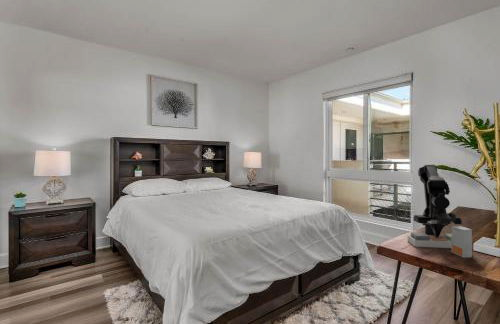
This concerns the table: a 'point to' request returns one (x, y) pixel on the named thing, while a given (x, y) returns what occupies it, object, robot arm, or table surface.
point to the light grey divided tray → (429, 243)
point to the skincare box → (461, 241)
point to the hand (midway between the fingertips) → (437, 237)
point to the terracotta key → (437, 238)
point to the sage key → (447, 236)
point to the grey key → (420, 236)
